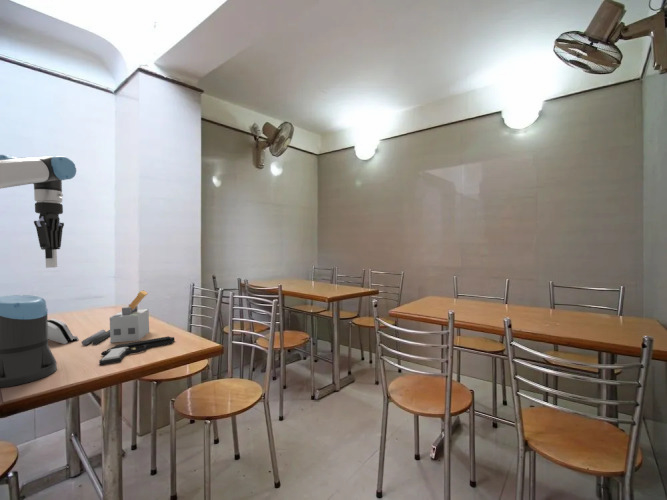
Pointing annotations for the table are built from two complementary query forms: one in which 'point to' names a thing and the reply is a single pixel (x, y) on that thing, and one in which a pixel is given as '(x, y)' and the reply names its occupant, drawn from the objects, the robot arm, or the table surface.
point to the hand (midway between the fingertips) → (51, 267)
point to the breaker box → (129, 325)
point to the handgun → (132, 349)
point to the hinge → (59, 332)
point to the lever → (137, 300)
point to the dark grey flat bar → (96, 337)
